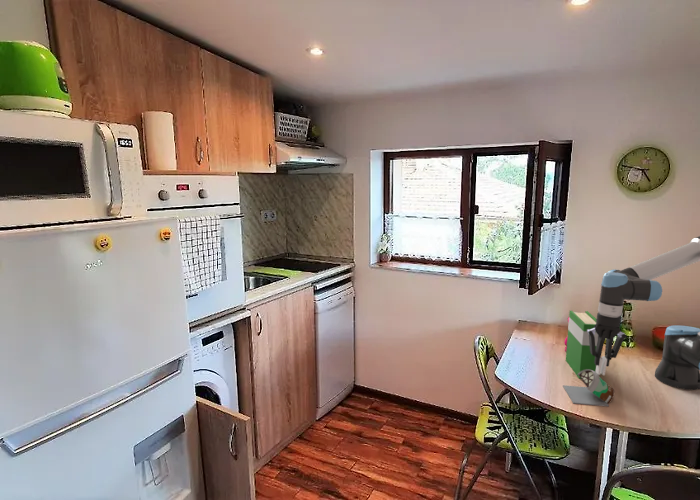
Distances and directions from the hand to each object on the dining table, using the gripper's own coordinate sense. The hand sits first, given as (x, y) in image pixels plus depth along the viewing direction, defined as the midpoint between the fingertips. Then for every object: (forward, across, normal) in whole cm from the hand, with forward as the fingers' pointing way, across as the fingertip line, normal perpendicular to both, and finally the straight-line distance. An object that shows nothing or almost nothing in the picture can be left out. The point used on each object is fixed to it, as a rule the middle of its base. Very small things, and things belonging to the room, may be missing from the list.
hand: (600, 373), depth 155 cm
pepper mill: (+10, +4, +42) cm, 43 cm away
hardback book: (+10, +2, +23) cm, 25 cm away
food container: (+7, +4, 0) cm, 9 cm away
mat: (+10, -4, 0) cm, 11 cm away
